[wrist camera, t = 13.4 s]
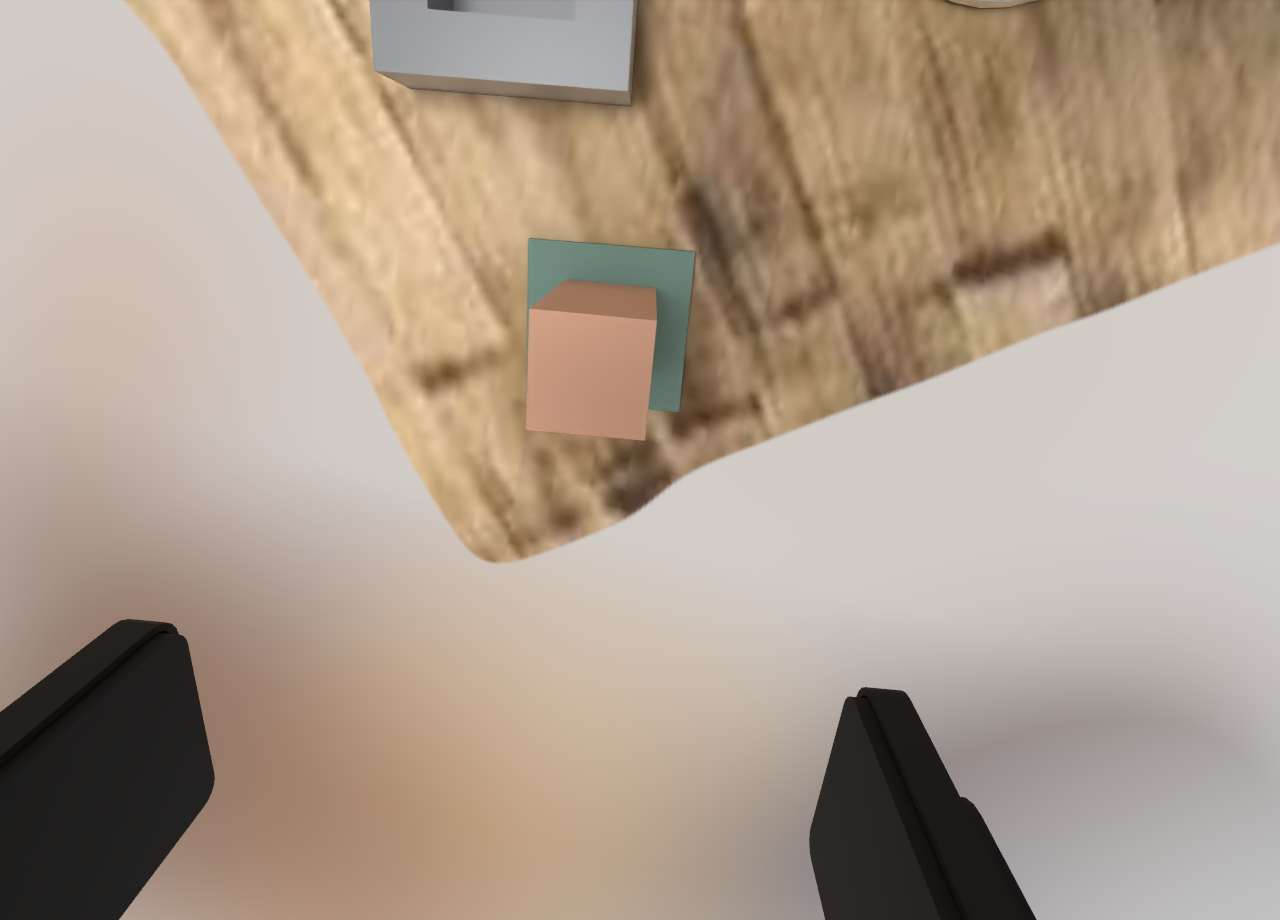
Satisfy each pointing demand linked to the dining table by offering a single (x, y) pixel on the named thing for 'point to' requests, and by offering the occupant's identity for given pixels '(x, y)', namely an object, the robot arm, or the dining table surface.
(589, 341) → the peg
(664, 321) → the mat
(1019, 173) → the dining table surface
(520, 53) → the pocket block
